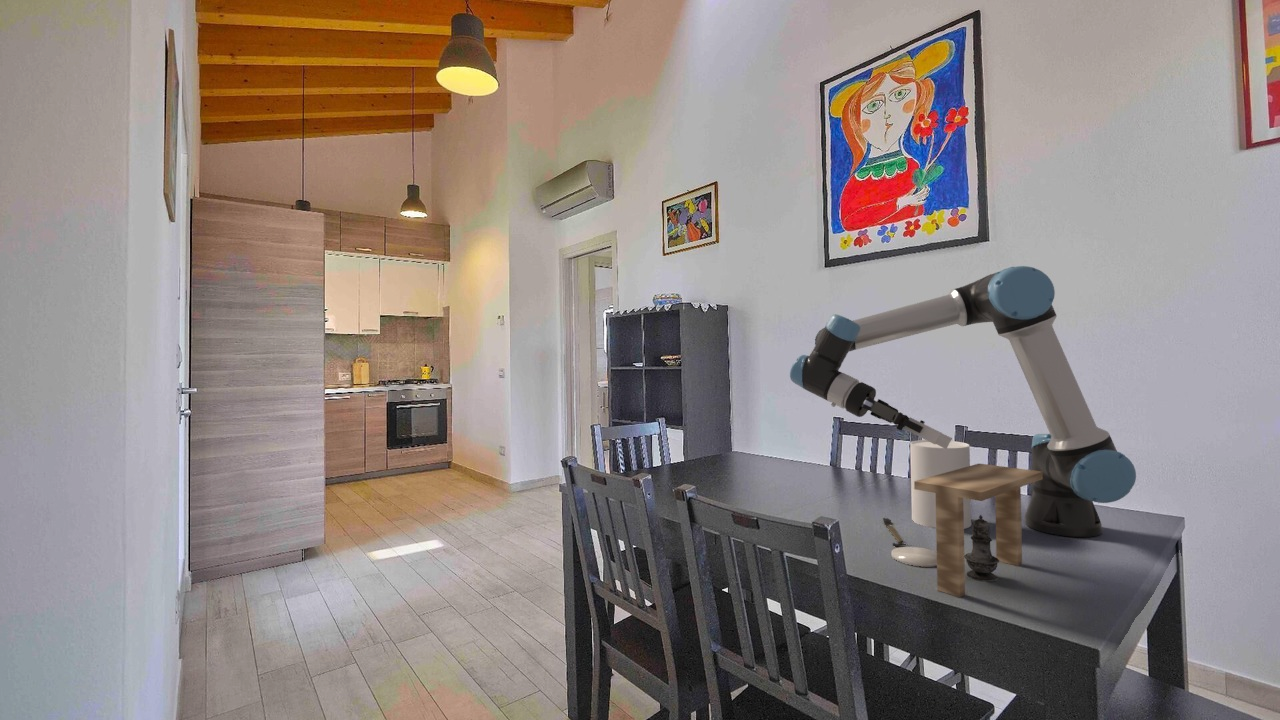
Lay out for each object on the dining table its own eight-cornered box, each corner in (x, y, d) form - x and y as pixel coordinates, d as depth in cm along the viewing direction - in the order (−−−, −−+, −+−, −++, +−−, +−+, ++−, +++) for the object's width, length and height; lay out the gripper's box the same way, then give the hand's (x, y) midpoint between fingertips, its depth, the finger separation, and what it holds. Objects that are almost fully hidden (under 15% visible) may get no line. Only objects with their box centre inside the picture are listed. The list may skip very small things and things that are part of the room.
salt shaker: (958, 571, 117) (956, 511, 117) (986, 570, 117) (984, 510, 117) (977, 583, 111) (976, 519, 111) (1006, 581, 112) (1005, 518, 111)
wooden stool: (916, 583, 111) (914, 481, 111) (980, 553, 127) (978, 463, 127) (983, 604, 102) (981, 492, 102) (1044, 569, 117) (1042, 471, 117)
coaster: (931, 550, 129) (931, 546, 129) (952, 566, 119) (952, 563, 119) (884, 550, 130) (884, 546, 130) (901, 566, 120) (901, 563, 120)
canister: (917, 528, 146) (915, 447, 146) (907, 513, 159) (906, 439, 159) (977, 531, 142) (976, 448, 142) (963, 515, 155) (961, 440, 155)
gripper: (859, 415, 146) (944, 459, 134) (827, 403, 126) (923, 453, 114) (874, 389, 145) (961, 430, 133) (844, 372, 126) (942, 419, 113)
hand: (944, 441), depth 123 cm, fingers open, 13 cm apart
